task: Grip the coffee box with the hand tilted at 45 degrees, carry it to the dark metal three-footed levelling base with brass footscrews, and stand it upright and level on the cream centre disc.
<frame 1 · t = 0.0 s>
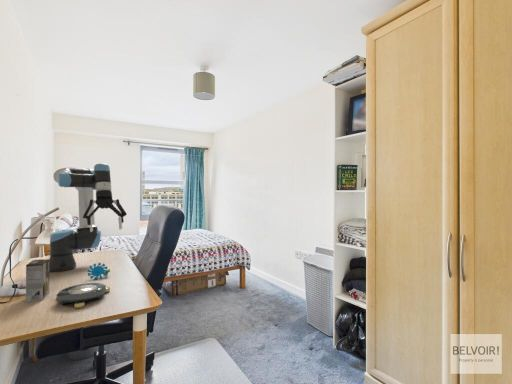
hand: (106, 230, 139), 28 cm above the table, tool tilted 20°, fingers open, 13 cm apart
coffee box: (37, 297, 120), on the table
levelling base: (82, 298, 119), on the table
gear: (98, 278, 149), on the table
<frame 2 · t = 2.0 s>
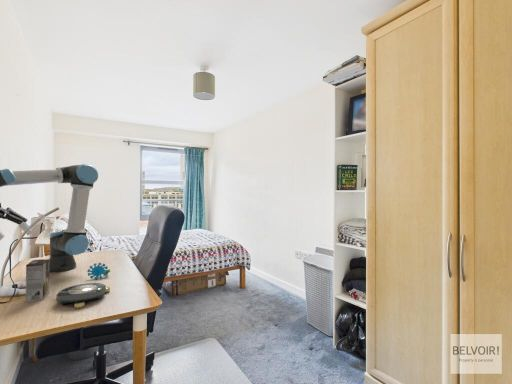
hand: (16, 235, 121), 28 cm above the table, tool tilted 45°, fingers open, 13 cm apart
nothing on the table moved.
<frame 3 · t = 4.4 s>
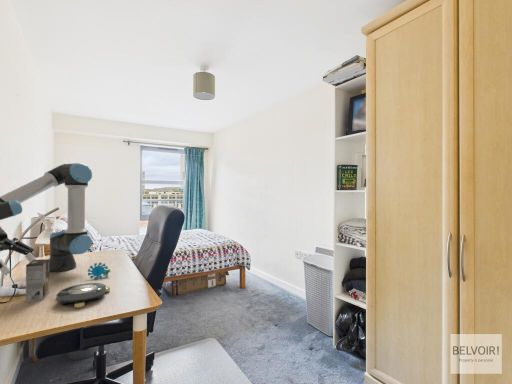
hand: (22, 268, 119), 13 cm above the table, tool tilted 45°, fingers open, 13 cm apart
nothing on the table moved.
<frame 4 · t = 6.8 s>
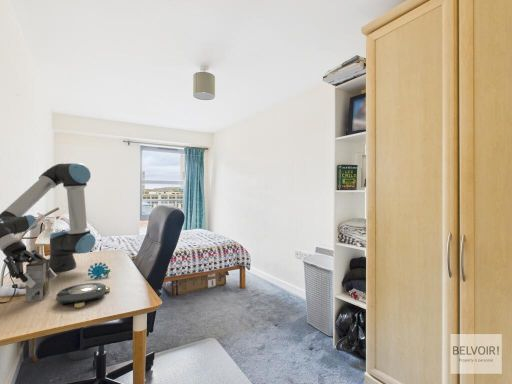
hand: (44, 281, 120), 7 cm above the table, tool tilted 45°, fingers closed on coffee box, 10 cm apart
coffee box: (37, 297, 120), on the table, touching gripper
everything else where it was.
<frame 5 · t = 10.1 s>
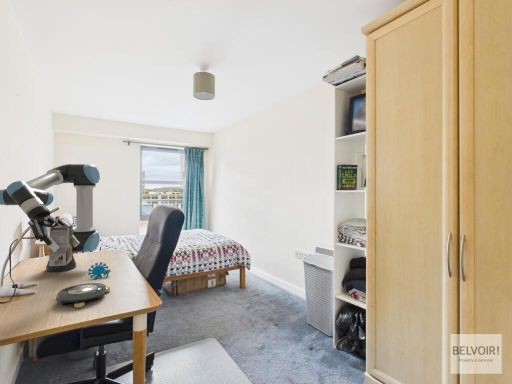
hand: (67, 247, 117), 23 cm above the table, tool tilted 45°, fingers closed on coffee box, 10 cm apart
coffee box: (60, 263, 117), point 16 cm above the table, touching gripper
when the fingers open (13 cm above the table, at t = 13.6 s): coffee box drops 1 cm, resting on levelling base.
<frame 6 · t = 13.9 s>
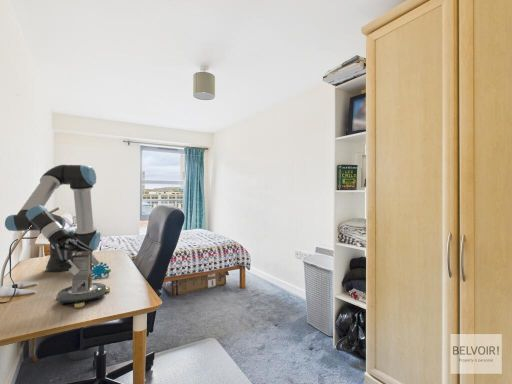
hand: (88, 268, 119), 13 cm above the table, tool tilted 45°, fingers open, 13 cm apart
coffee box: (82, 289, 119), point 4 cm above the table, touching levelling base
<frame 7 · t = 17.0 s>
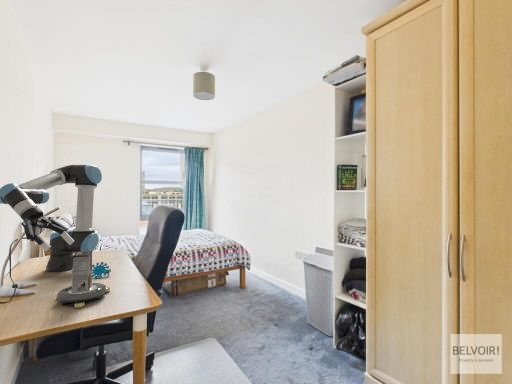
hand: (60, 245, 120), 23 cm above the table, tool tilted 45°, fingers open, 13 cm apart
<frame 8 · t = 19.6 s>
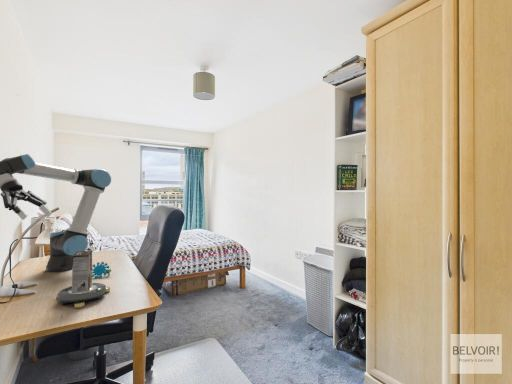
hand: (38, 216, 129), 36 cm above the table, tool tilted 45°, fingers open, 13 cm apart
at the end: coffee box 0.2 cm off-centre on the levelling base, point 4.1 cm above the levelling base's base; coffee box tilted 0°; the gripper is holding nothing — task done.
